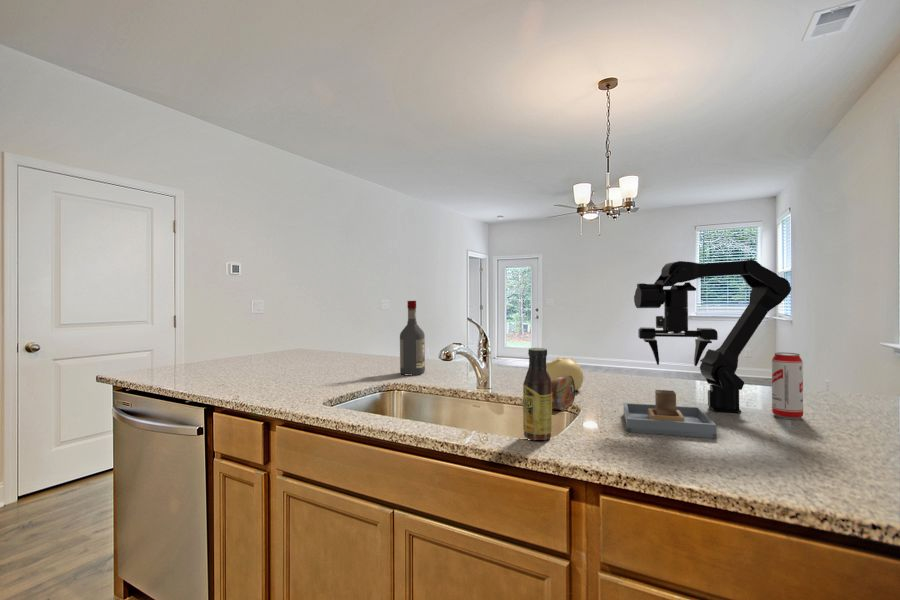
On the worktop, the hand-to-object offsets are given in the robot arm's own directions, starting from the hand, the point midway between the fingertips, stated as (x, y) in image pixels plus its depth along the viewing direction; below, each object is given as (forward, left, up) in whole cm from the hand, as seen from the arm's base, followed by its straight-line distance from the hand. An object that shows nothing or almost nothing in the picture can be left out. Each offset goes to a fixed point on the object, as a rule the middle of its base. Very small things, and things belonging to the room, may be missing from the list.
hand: (676, 365), depth 122 cm
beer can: (-25, +1, -12) cm, 28 cm away
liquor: (+93, -35, -12) cm, 100 cm away
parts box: (+5, +17, -12) cm, 21 cm away
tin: (+30, +5, -12) cm, 33 cm away
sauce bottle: (+33, +35, -12) cm, 50 cm away
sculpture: (+31, -18, -12) cm, 38 cm away
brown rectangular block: (+5, +17, -11) cm, 21 cm away
